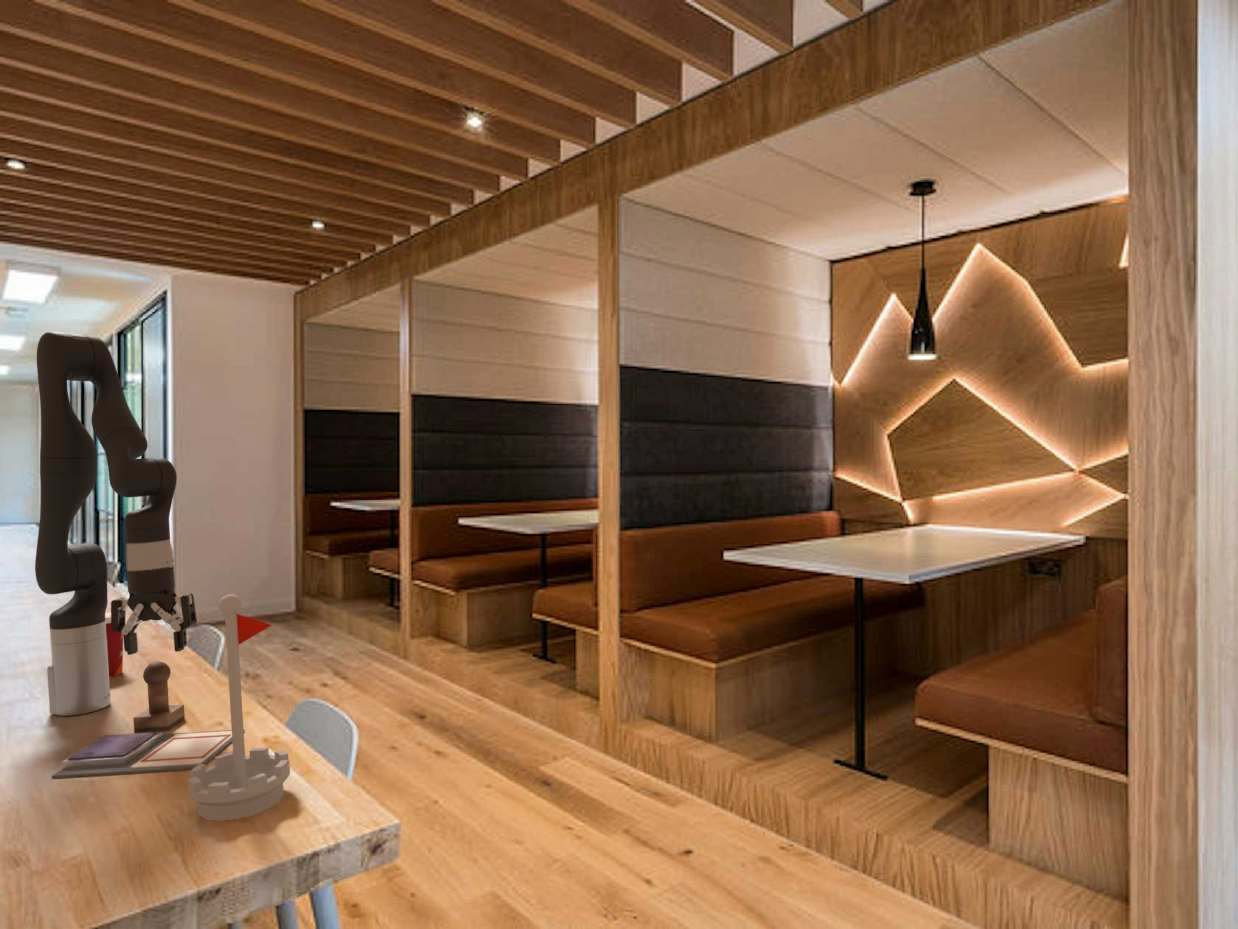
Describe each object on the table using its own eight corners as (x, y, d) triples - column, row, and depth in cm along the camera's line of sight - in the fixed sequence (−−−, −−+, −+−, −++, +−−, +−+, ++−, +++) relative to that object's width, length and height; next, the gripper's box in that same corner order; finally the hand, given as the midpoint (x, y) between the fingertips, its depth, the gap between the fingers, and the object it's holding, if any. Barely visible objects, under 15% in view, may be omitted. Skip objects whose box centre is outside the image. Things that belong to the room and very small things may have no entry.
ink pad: (62, 769, 124) (61, 760, 124) (104, 742, 135) (103, 734, 135) (125, 765, 125) (125, 756, 124) (162, 739, 135) (162, 730, 135)
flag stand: (184, 834, 102) (170, 608, 101) (195, 794, 114) (182, 592, 113) (291, 811, 107) (279, 596, 106) (290, 775, 119) (279, 582, 118)
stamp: (134, 732, 141) (130, 667, 140) (152, 721, 147) (148, 658, 146) (167, 730, 141) (164, 665, 141) (184, 719, 147) (181, 656, 147)
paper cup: (135, 670, 182) (132, 612, 182) (104, 680, 175) (100, 619, 175) (111, 668, 185) (107, 611, 185) (80, 678, 178) (76, 618, 177)
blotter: (51, 778, 122) (51, 774, 122) (113, 739, 138) (112, 735, 137) (200, 769, 123) (200, 764, 123) (244, 731, 139) (244, 727, 139)
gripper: (98, 571, 139) (104, 660, 139) (179, 566, 140) (185, 654, 140) (122, 565, 146) (128, 649, 147) (199, 560, 147) (205, 644, 147)
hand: (156, 652), depth 143 cm, fingers open, 8 cm apart
